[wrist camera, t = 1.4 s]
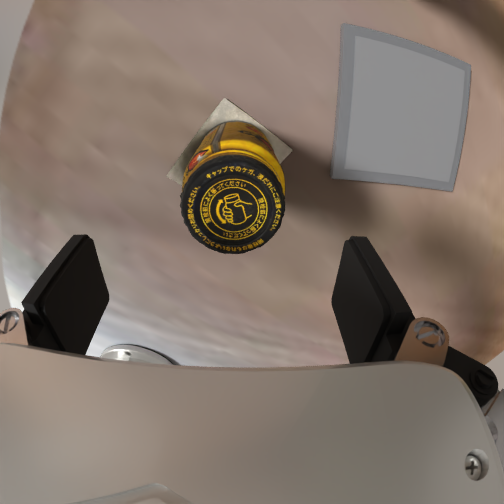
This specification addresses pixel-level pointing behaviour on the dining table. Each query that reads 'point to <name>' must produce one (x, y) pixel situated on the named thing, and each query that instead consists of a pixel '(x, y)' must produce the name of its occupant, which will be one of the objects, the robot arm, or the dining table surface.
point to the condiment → (232, 182)
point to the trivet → (398, 111)
